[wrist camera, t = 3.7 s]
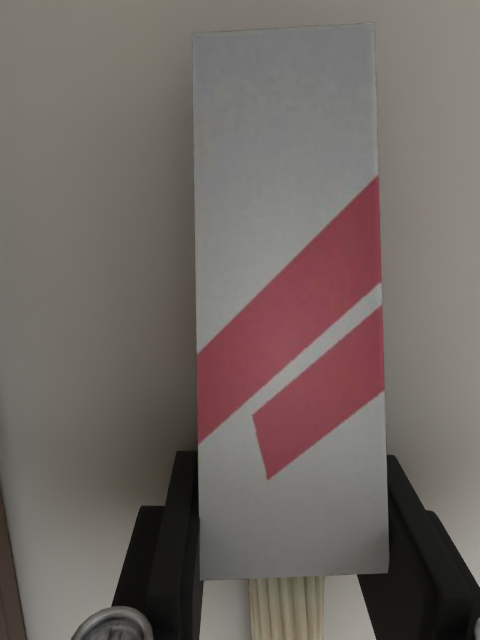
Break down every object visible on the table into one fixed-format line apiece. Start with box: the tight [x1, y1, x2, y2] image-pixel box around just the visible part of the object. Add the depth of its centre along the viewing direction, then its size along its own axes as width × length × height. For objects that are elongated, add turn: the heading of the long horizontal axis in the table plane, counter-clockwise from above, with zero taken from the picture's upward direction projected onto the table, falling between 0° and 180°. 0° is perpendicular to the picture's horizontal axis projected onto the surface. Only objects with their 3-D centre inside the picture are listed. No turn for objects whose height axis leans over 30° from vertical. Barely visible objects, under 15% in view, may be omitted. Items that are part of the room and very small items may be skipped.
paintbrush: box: [192, 23, 389, 640], centre depth 10 cm, size 4×3×20 cm
